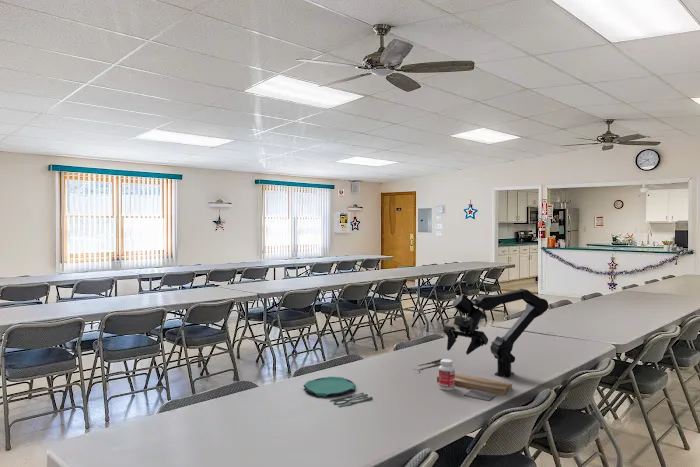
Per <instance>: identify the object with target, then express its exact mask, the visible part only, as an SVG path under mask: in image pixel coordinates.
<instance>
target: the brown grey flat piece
mask: <svg viewBox="0 0 700 467" xmlns="http://www.w3.org/2000/svg"><path fill="white" fill-rule="evenodd" d="M436 383H439V375H438V376H437V377H436ZM455 387H460V388H461V387H462V388H467V389H470V390H469V391H467V392H465V393H464V394H463V396H464V397H468V398H472V399H478V400H481V401H482V400H483V401H487V402H490V401H491V400H493V399H494V398H496V397H497V396H498V395H500V396H505V395H506V394H508V392H510V391H511V390H513V383H510V382H505V381H504V382H503V381H500V380H499V381H498V380H494V379H488V378H483V377H478V376H472V375H468V374H462V373H456V372H455Z"/></svg>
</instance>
